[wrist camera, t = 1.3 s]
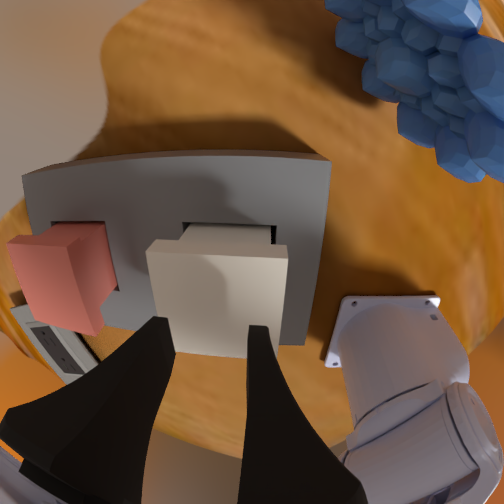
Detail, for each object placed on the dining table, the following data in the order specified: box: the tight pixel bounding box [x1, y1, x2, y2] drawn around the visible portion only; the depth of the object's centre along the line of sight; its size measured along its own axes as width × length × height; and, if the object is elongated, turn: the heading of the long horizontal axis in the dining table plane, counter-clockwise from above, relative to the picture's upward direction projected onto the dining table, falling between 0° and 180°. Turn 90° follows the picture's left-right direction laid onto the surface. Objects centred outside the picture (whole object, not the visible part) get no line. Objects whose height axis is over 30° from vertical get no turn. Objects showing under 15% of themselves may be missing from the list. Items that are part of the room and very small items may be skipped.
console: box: [22, 149, 332, 345], centre depth 17 cm, size 20×12×4 cm, turn 89°
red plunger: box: [6, 221, 118, 337], centre depth 14 cm, size 6×6×5 cm
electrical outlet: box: [10, 304, 99, 384], centre depth 25 cm, size 13×10×2 cm
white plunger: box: [145, 222, 288, 359], centre depth 14 cm, size 6×6×5 cm
